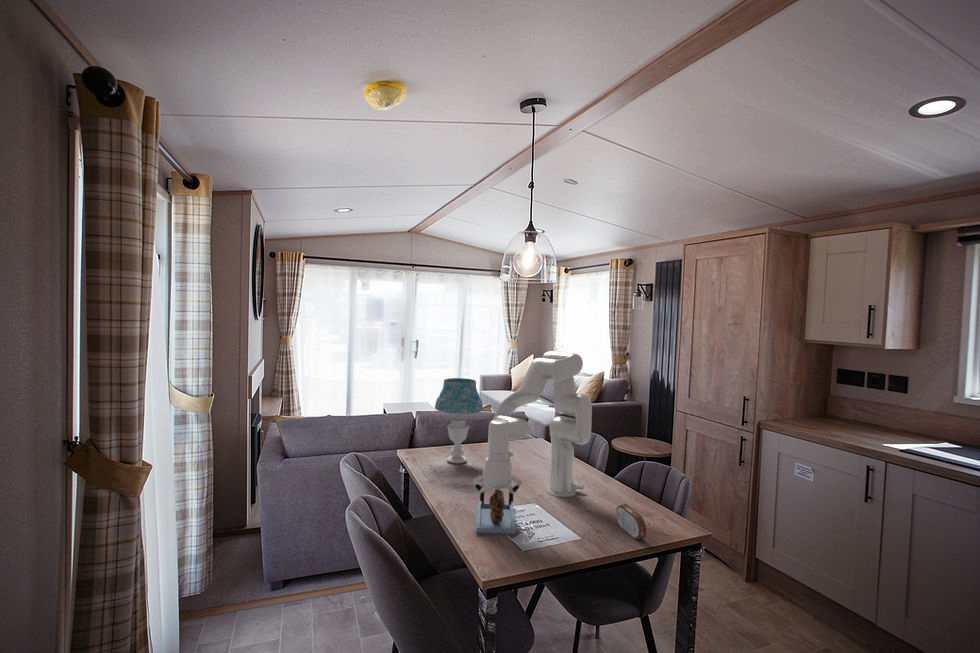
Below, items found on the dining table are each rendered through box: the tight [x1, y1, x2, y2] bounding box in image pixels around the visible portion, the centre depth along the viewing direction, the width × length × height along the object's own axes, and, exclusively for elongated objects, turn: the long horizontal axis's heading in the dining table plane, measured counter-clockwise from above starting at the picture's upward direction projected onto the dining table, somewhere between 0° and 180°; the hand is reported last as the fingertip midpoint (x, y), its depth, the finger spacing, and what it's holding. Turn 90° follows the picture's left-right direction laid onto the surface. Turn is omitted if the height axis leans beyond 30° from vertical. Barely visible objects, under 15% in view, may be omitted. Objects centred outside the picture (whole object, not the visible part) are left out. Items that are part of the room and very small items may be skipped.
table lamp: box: [434, 377, 484, 464], centre depth 230 cm, size 24×24×40 cm
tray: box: [475, 501, 517, 536], centre depth 165 cm, size 13×21×2 cm, turn 0°
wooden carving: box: [488, 488, 505, 522], centre depth 164 cm, size 16×5×10 cm, turn 12°
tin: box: [615, 503, 647, 540], centre depth 159 cm, size 15×3×8 cm, turn 16°
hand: (496, 503), depth 165 cm, fingers open, 9 cm apart
